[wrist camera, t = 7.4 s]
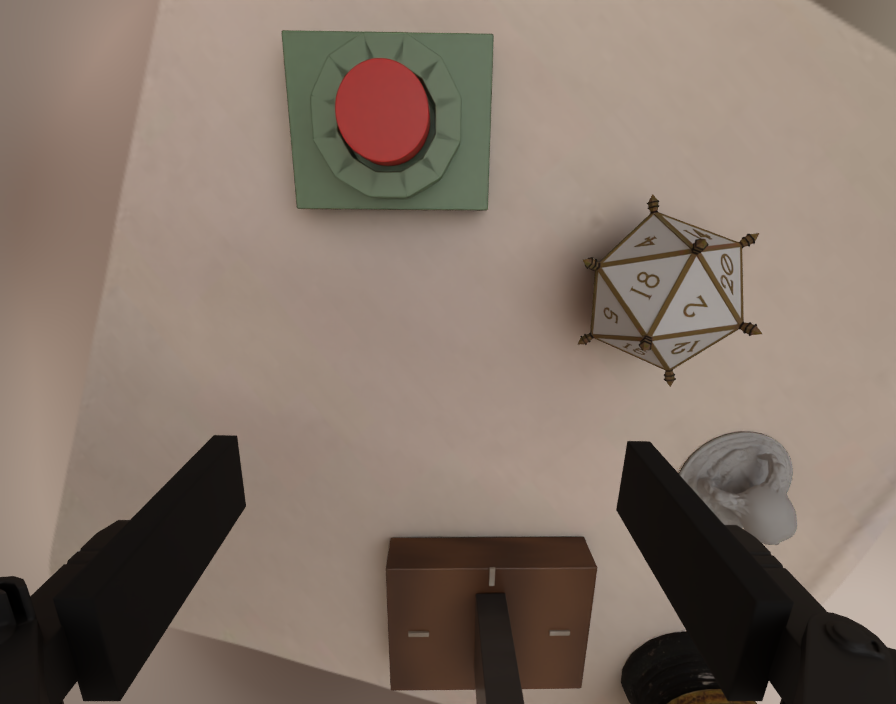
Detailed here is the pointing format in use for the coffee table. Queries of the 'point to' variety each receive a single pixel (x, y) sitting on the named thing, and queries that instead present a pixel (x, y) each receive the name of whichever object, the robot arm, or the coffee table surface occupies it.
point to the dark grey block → (495, 653)
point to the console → (454, 602)
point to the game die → (668, 291)
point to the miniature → (745, 484)
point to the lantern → (671, 674)
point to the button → (383, 111)
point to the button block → (450, 134)
